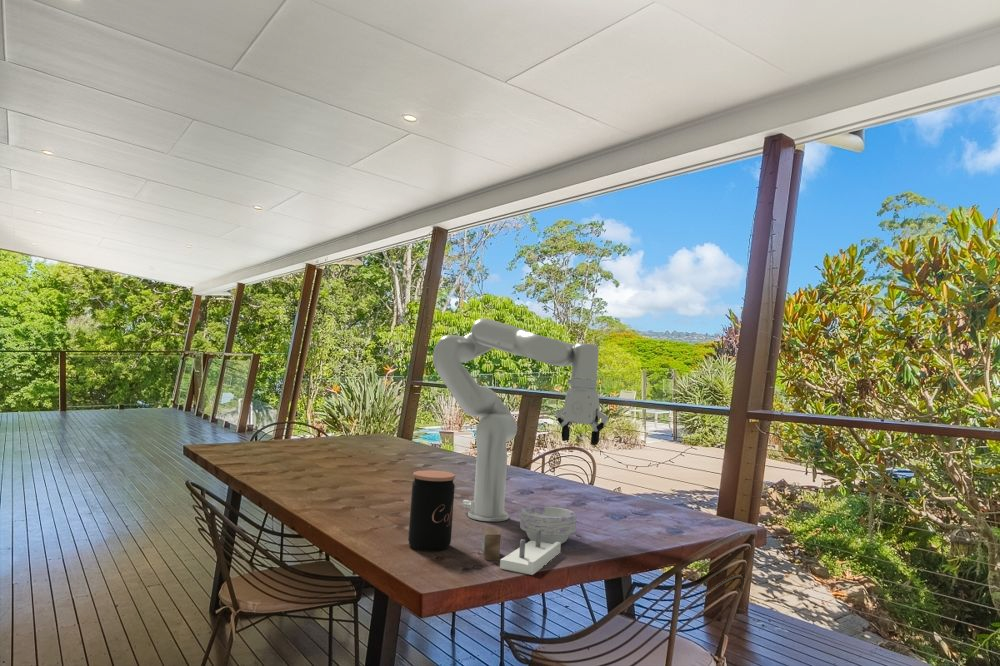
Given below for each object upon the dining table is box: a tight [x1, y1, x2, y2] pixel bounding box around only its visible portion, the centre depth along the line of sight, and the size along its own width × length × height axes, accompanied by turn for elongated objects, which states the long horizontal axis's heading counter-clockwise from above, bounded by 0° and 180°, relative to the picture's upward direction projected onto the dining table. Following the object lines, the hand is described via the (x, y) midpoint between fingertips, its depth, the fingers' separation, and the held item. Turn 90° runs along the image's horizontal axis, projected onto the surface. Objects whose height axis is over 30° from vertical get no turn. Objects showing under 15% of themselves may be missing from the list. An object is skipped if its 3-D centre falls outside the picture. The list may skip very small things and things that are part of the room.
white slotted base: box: [499, 530, 562, 576], centre depth 149 cm, size 8×20×6 cm, turn 156°
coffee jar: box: [407, 469, 456, 552], centre depth 157 cm, size 11×11×18 cm
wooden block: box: [481, 526, 502, 561], centre depth 152 cm, size 4×7×6 cm, turn 7°
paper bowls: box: [519, 505, 577, 545], centre depth 169 cm, size 15×15×8 cm
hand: (579, 442), depth 184 cm, fingers open, 9 cm apart
